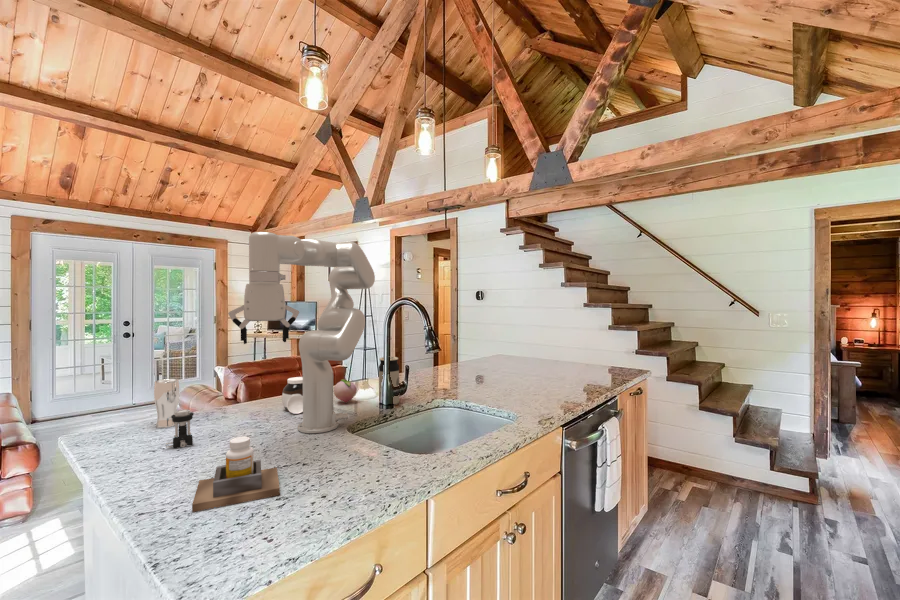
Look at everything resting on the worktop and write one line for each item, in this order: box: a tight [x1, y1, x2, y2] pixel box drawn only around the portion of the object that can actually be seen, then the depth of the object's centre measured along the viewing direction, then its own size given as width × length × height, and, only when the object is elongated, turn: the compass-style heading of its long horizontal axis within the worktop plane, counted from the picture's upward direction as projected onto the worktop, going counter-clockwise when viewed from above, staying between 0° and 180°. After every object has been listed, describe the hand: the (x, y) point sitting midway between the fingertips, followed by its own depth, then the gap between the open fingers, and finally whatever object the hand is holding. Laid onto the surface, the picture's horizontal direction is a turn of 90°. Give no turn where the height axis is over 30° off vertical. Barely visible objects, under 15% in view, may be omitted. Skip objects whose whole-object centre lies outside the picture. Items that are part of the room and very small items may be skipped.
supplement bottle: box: [225, 436, 254, 479], centre depth 90 cm, size 5×5×10 cm
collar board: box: [191, 459, 281, 513], centre depth 90 cm, size 16×12×4 cm
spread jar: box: [281, 376, 303, 415], centre depth 155 cm, size 12×11×12 cm
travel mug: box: [378, 356, 400, 405], centre depth 165 cm, size 8×8×18 cm
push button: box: [165, 409, 194, 449], centre depth 118 cm, size 7×5×10 cm
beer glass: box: [153, 378, 180, 429], centre depth 137 cm, size 7×7×15 cm
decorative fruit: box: [333, 377, 357, 404], centre depth 165 cm, size 9×8×10 cm
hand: (265, 342), depth 111 cm, fingers open, 9 cm apart
